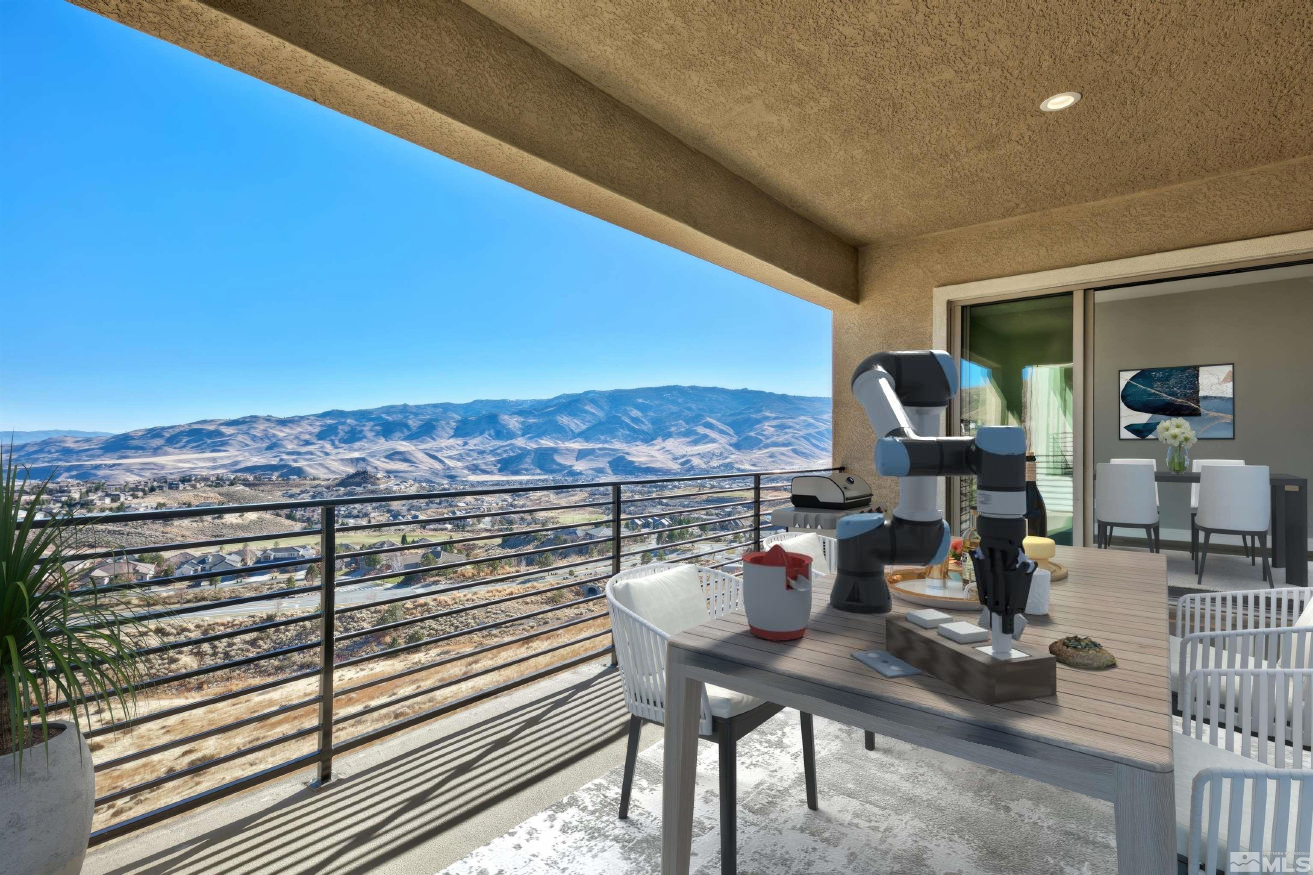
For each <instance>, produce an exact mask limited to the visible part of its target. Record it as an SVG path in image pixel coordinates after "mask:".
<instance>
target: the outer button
mask: <svg viewBox="0 0 1313 875" xmlns="http://www.w3.org/2000/svg"><path fill="white" fill-rule="evenodd" d="M974 649H976V650H978V651H980V652H983V653H985V654H987V655H990V656H992V657H994V658H996V659H999V660H1001V661H1003V660H1011V659H1018V658H1025V657H1030V656H1029V655H1027V654H1024V653H1022V652H1019V651H1017V650H1015V649H1012V651H1010V652H1002V653H998V652H996V651H993V650H992V646H985V647H977V648H974Z"/></svg>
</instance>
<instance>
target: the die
mask: <svg viewBox="0 0 1313 875" xmlns="http://www.w3.org/2000/svg"><path fill="white" fill-rule="evenodd" d="M1028 621H1029V620H1027V619H1026V618H1025V617H1024V616H1023V614H1016V615H1015V616H1014V633H1013V634H1012V639H1013V640H1016V641H1018V642H1020V640H1021V637H1022V636H1023V633H1024V630H1025V629H1026V627H1027V625H1028ZM976 625H977V626H980V627H982V628H985V629H987V630H990V631H992V629H991V628H990V611H989V610H988V608H987V607H986V606H985V605H984V608H983V611H982V612H981V615H980V617H979V619H978V622H977V623H976Z"/></svg>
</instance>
